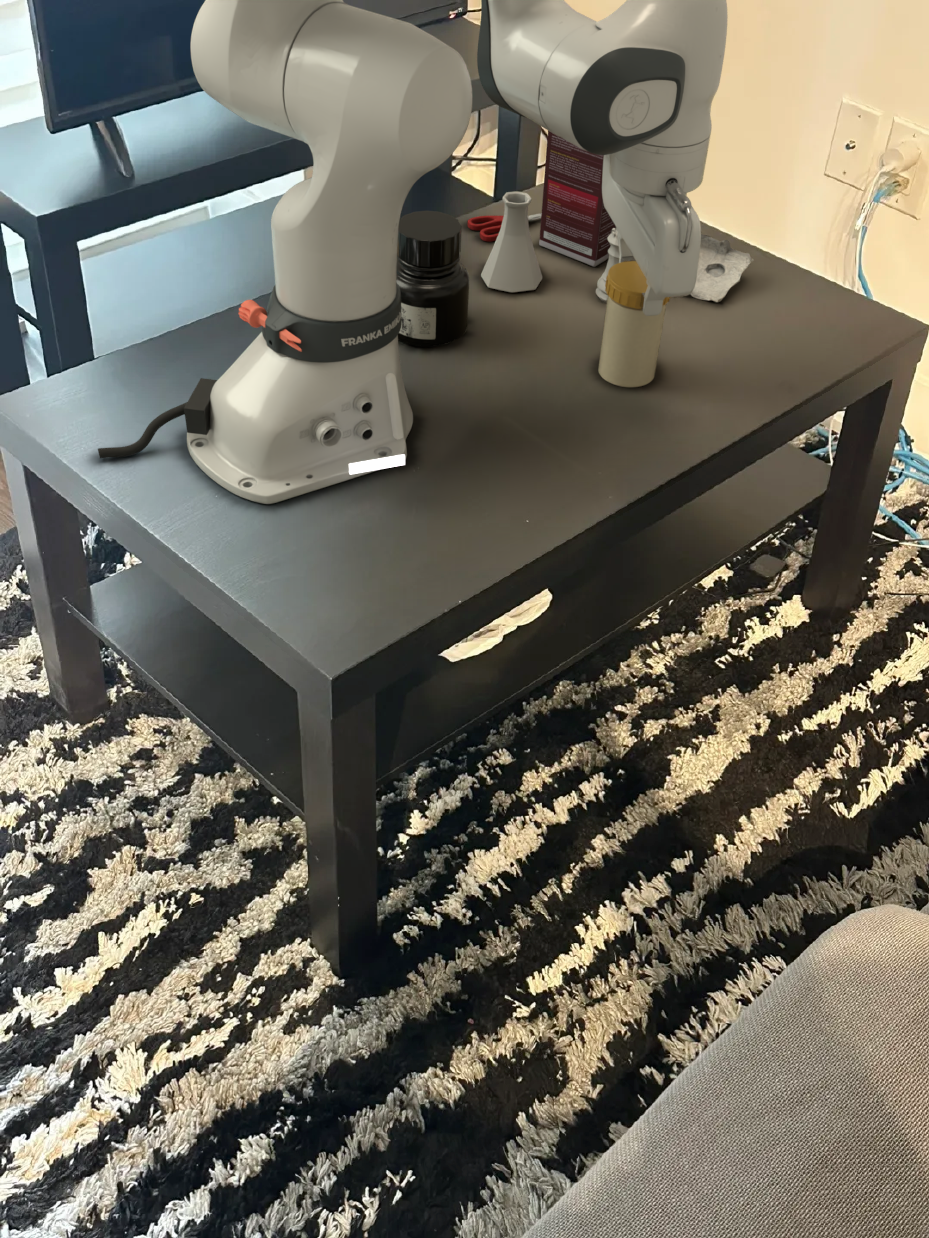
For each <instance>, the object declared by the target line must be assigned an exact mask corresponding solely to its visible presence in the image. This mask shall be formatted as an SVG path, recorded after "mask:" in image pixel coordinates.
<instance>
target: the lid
mask: <svg viewBox="0 0 929 1238" xmlns="http://www.w3.org/2000/svg"><path fill="white" fill-rule="evenodd" d="M646 280H647V279H646V277H645V276H644V274H643V272H642V270H641V269H640V267H639V265H638V264H637V262H636V261H627V262H621V263H618V264H615V265H614V266H612V267H611V268H610V269H609V271H608V276H607V278H606V284H605V287H606V288H605V291H606V293H607V295H608V296H609V297H610V298H611V299H612V300H614V301H615V302H617V303H619V304H621V305H624V306H627V307H631V308H635V309H641V307H640V303H641V295H642V293H645V292H646V290H647V287H648V285H647V283H646ZM671 298H672V297H665V298H664V299H663V305H665V304H666V303H667V304H668V303H669V302H670V301H671V300H670V299H671ZM667 304H666V305H667ZM663 305H662V306H663Z"/></svg>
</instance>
